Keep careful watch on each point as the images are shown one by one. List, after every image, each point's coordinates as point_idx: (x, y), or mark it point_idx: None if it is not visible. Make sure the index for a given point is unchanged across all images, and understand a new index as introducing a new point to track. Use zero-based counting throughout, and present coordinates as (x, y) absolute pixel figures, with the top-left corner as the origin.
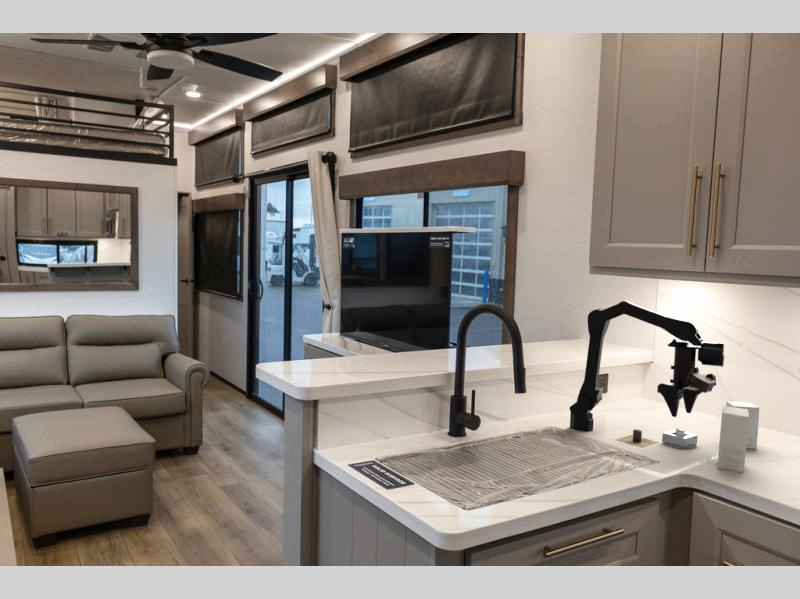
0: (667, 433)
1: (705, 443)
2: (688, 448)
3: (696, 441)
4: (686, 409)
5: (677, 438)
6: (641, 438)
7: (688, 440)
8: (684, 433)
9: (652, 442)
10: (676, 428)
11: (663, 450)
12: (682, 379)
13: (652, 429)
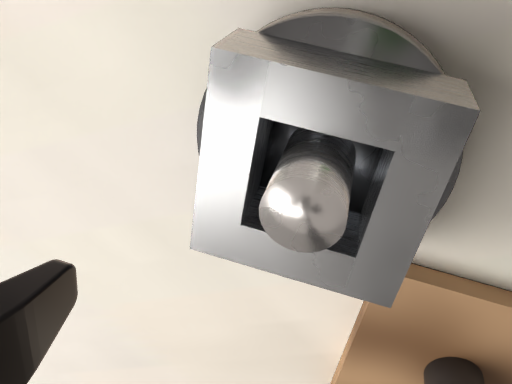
0: (376, 277)
1: (52, 6)
2: (424, 53)
3: (242, 35)
4: (49, 335)
5: (440, 182)
6: (368, 360)
7: (402, 84)
8: (302, 160)
9: (419, 302)
10: (293, 250)
11: (495, 210)
12: None
13: (72, 323)
